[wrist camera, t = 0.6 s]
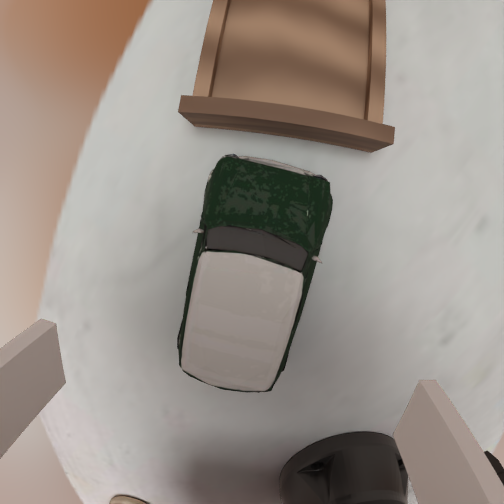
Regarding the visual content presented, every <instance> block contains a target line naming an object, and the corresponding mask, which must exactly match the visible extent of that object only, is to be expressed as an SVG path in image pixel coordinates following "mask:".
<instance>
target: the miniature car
mask: <svg viewBox="0 0 504 504" xmlns="http://www.w3.org/2000/svg"><path fill="white" fill-rule="evenodd" d="M225 156H226V157H222V158H221V159H220V160H219V161H218V163H217V165H216V167H215V169H214V170H212V171H211V173H210V175H209V178H208V182H207V185H206V189H205V195H204V205H203V212H202V215H201V218H202V220H201V221H200V227H199V229H197V230H195V231H193V232H194V233H198V237H197V242H196V246H195V251H194V256H193V261H192V266H191V271H190V276H189V281H188V286H187V291H186V301H185V307H184V314H183V320H182V323H181V327H180V331H179V334H178V340H177V349H178V350H179V366H180V367H181V368H182V370H183V371H184V372H185V373H186V374H187V375H189V376H190V377H193V378H195V379H197V380H199V381H201V382H204V383H206V384H209V385H212V386H214V387H217V388H220V389H223V390H231V391H240V392H258V393H259V392H268V391H272V388H273V386H274V384H275V382H276V381H277V379H278V377H279V375H280V373H281V372H282V371H284V369H285V365H286V362H287V358H288V353H289V349H290V346H291V343H292V340H293V337H294V334H295V331H296V328H297V325H298V323H299V320H300V317H301V314H302V310H303V307H304V304H305V300H306V297H307V294H308V290H309V287H310V283H311V280H312V276H313V273H314V269H315V266H316V262H320V263H322V262H321V261H320V259H319V258H318V255H319V251H320V247H321V244H322V240H323V236H324V233H325V230H326V228H327V226H328V223H329V220H330V215H331V211H332V204H333V200H332V196H331V194H330V182H328V180H327V179H326V178H324V177H323V176H322V175H315V174H313V173H311V172H309V171H306V170H302V169H299V168H296V167H293V166H290V165H287V164H283V163H280V162H277V161H273V160H267V159H261V158H254V157H247V156H239V157H238V156H236V155H235V154H230V155H225Z"/></svg>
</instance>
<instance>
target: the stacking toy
mask: <svg viewBox="0 0 504 504" xmlns="http://www.w3.org/2000/svg"><path fill="white" fill-rule="evenodd" d="M109 504H146V503H144V502H142V501H140V500H137V499H134V498H131V497H125V496H118V497H114V498H113V499H111V501H110V503H109Z"/></svg>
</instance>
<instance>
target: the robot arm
mask: <svg viewBox="0 0 504 504" xmlns="http://www.w3.org/2000/svg"><path fill="white" fill-rule="evenodd" d="M65 383H66V380H65V376H64V370H63V365H62V359H61V353H60V347H59V341H58V334H57V326H56V323H53V322H50V321H47V320H44V319H40V320H38V321H37V322H36V323H34V324H33V325H31V326H30V327H29V328H27V329H26V330H25V331H23V332H22V333H20V334H19V335H18V336H16V337H15V338H14V339H12V340H11V341H9V342H8V343H7V344H5V345H4V346H3V347H1V348H0V459H1V457H2V456H3V455H4V454H5V453H6V451H7V450H8V449H9V448H10V446H11V445H12V444H13V443H14V442H15V441H16V439H17V438H18V437H19V436H20V435H21V433H22V432H23V431H24V430H25V429H26V428H27V426H28V425H29V424H30V423H31V421H32V420H33V419H34V418H35V417H36V416H37V415H38V414H39V412H40V411H41V410H42V409H43V408H44V407H45V406H46V404H47V403H48V402H49V401H50V400H51V399H52V398H53V397H54V395H55V394H56V393H57V392H58V391H59V390H60V389H61V388H62V386H63V385H64V384H65ZM393 437H394V439H395V440H394V439H393V438H391V437H389V436H386V435H383V434H379V433H372V432H357V433H348V434H343V435H338V436H334V437H331V438H328V439H325V440H322V441H319V442H317V443H315V444H313V445H311V446H309V447H307V448H305V449H304V450H302V451H300V452H299V453H298V454H296V455H295V456H294V457H293V458H292V459H290V460H289V462H288V463H287V464H286V465H285V467H284V468H283V470H282V472H281V475H280V498H281V501H282V503H283V504H407V499H408V476H409V479H410V481H411V484H412V487H413V490H414V492H415V495H416V498H417V501H418V504H504V469H503V467H502V465H501V464H500V462H499V460H498V459H496V458H495V457H494V456H493V455H492V454H491V453H490V452H488V451H485V452H483V450H482V449H481V447H480V445H479V444H478V442H477V441H476V439H475V437H474V436H473V434H472V433H471V431H470V430H469V428H468V427H467V425H466V423H465V422H464V420H463V419H462V417H461V416H460V414H459V413H458V411H457V410H456V408H455V407H454V405H453V404H452V402H451V401H450V399H449V398H448V397H447V395H446V394H445V392H444V391H443V389H442V388H441V386H440V385H439V383H438V382H437V381H436V380H419V382H418V384H417V386H416V389H415V391H414V393H413V395H412V397H411V400H410V402H409V404H408V406H407V408H406V410H405V412H404V414H403V416H402V418H401V420H400V422H399V424H398V426H397V428H396V429H395V431H394V433H393Z"/></svg>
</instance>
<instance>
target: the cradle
mask: <svg viewBox="0 0 504 504" xmlns="http://www.w3.org/2000/svg"><path fill="white" fill-rule="evenodd" d="M385 72H386V3H385V0H213V4H212V8H211V12H210V16H209V20H208V24H207V28H206V33H205V37H204V42H203V46H202V51H201V56H200V61H199V65H198V70H197V75H196V81H195V86H194V91H193V96H185V95H181V99H180V105H179V110H178V112H179V113H180V114H181V115H182V116H183V117H185V118H186V119H187V120H188V121H189V122H190V123H191V124H193V125H194V126H195V127H207V128H219V129H229V130H239V131H247V132H256V133H264V134H271V135H278V136H285V137H292V138H298V139H304V140H310V141H316V142H322V143H327V144H333V145H338V146H343V147H348V148H353V149H357V150H362V151H367V152H374V151H377V150H379V149H382V148H384V147H387V146H389V145H392V144H393V143H394V132H395V127H392V126H388V125H384V124H382V123H383V110H384V94H385Z"/></svg>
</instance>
